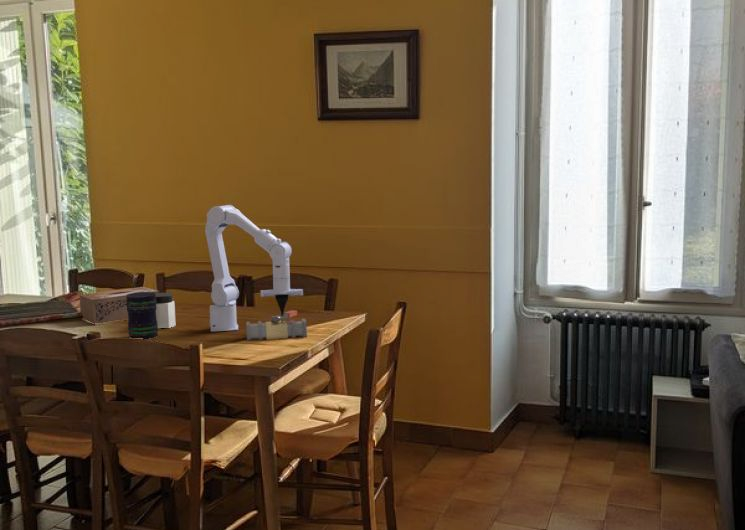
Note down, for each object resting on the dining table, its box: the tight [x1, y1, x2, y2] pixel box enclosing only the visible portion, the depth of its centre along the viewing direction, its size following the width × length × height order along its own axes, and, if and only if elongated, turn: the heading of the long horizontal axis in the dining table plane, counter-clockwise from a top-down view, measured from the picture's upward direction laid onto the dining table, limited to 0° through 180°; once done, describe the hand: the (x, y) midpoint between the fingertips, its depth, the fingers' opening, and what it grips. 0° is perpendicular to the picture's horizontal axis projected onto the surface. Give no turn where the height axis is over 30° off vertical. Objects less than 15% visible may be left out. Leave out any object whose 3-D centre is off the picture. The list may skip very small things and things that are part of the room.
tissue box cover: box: [79, 286, 160, 324], centre depth 287 cm, size 26×14×10 cm, turn 130°
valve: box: [245, 318, 308, 341], centre depth 250 cm, size 20×6×5 cm, turn 100°
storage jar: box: [126, 292, 159, 339], centre depth 253 cm, size 10×10×15 cm
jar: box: [155, 292, 176, 329], centre depth 268 cm, size 9×8×12 cm
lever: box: [270, 309, 298, 323], centre depth 254 cm, size 13×4×2 cm, turn 153°
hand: (282, 316), depth 256 cm, fingers closed, pressing on lever
